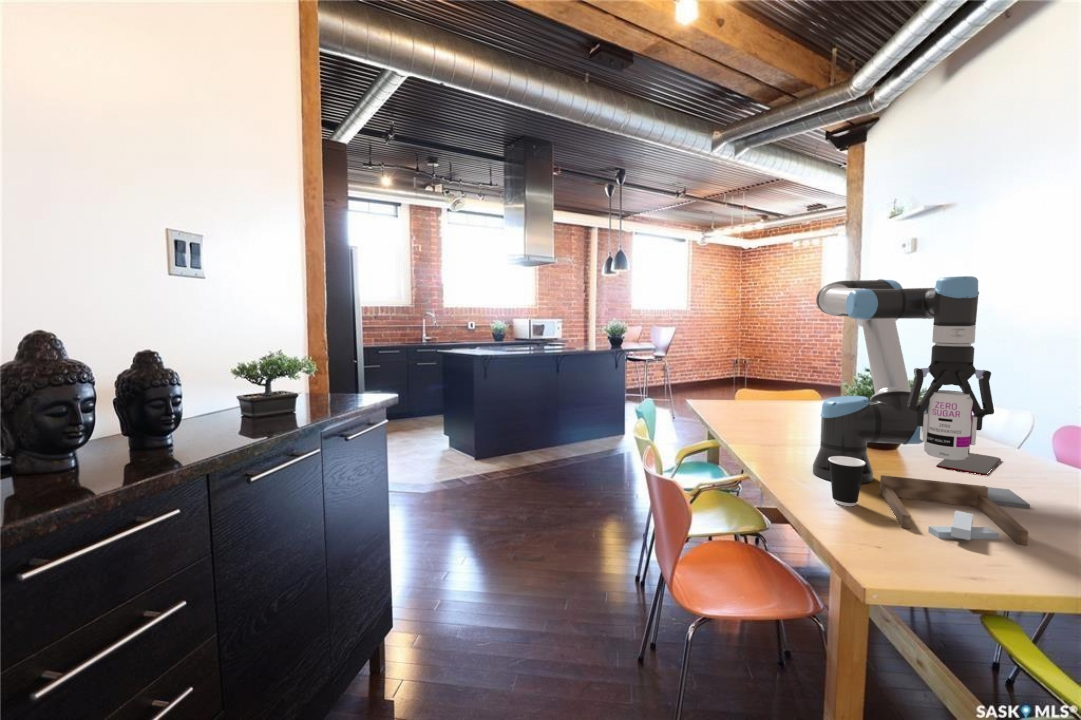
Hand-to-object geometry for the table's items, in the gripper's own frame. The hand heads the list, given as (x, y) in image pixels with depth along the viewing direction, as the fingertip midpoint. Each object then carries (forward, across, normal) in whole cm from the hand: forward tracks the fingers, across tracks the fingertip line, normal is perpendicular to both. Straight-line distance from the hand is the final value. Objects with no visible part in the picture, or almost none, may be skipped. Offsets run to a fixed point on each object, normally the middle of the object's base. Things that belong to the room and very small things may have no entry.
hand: (946, 441), depth 116 cm
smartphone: (+19, +20, +54) cm, 60 cm away
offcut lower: (+18, 0, -13) cm, 22 cm away
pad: (+17, +14, +18) cm, 29 cm away
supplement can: (+3, 0, 0) cm, 3 cm away
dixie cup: (+18, -20, -2) cm, 27 cm away
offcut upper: (+16, 0, -13) cm, 20 cm away
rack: (+17, 0, -2) cm, 17 cm away
